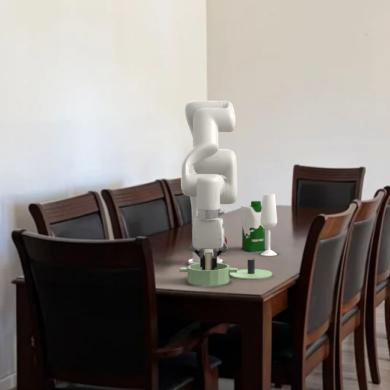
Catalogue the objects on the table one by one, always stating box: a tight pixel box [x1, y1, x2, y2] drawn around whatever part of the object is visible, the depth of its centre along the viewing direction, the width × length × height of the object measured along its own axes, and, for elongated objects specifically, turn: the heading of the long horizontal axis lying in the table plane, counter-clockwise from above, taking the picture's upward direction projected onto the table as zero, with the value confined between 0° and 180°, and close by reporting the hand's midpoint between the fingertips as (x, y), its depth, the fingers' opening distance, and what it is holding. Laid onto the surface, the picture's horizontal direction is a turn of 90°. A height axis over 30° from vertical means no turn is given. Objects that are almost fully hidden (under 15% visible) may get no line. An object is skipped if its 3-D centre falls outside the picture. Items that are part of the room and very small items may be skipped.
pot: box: [179, 262, 239, 287], centre depth 258 cm, size 13×19×6 cm
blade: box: [205, 252, 213, 270], centre depth 258 cm, size 8×5×10 cm, turn 0°
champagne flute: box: [260, 192, 278, 257], centre depth 309 cm, size 7×7×24 cm
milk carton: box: [240, 200, 266, 252], centre depth 319 cm, size 9×9×20 cm
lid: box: [230, 257, 273, 281], centre depth 268 cm, size 14×14×6 cm
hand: (208, 269), depth 258 cm, fingers closed on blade, 2 cm apart
